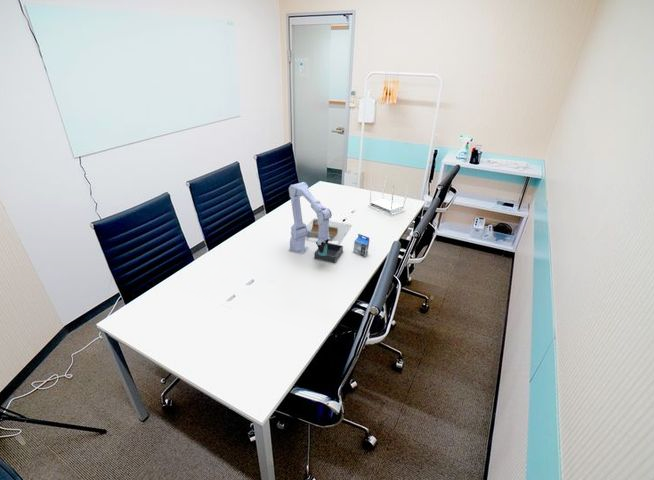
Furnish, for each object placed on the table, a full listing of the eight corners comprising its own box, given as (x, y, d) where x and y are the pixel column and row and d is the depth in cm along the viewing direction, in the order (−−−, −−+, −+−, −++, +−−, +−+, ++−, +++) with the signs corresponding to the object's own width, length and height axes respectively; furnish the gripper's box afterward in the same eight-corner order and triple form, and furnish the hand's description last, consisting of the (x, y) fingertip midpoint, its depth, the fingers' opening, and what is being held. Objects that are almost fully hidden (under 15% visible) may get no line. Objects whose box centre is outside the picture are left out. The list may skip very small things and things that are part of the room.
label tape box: (352, 252, 215) (354, 235, 209) (356, 250, 218) (358, 233, 211) (364, 257, 210) (366, 239, 204) (367, 254, 213) (370, 237, 206)
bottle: (317, 254, 198) (317, 241, 193) (320, 250, 201) (320, 238, 197) (325, 256, 196) (325, 243, 191) (328, 252, 200) (328, 239, 195)
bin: (314, 258, 208) (314, 252, 206) (323, 247, 220) (323, 241, 218) (335, 263, 204) (335, 257, 201) (342, 251, 216) (343, 245, 214)
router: (382, 201, 291) (386, 174, 278) (405, 210, 274) (410, 182, 261) (367, 206, 281) (370, 178, 268) (389, 216, 264) (394, 186, 251)
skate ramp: (296, 238, 232) (296, 228, 228) (314, 218, 259) (314, 209, 255) (336, 245, 222) (337, 235, 218) (350, 225, 250) (351, 216, 246)
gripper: (325, 236, 183) (324, 257, 190) (334, 225, 194) (333, 246, 202) (314, 233, 185) (313, 254, 193) (323, 223, 197) (322, 244, 204)
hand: (322, 250), depth 197 cm, fingers closed on bottle, 5 cm apart
